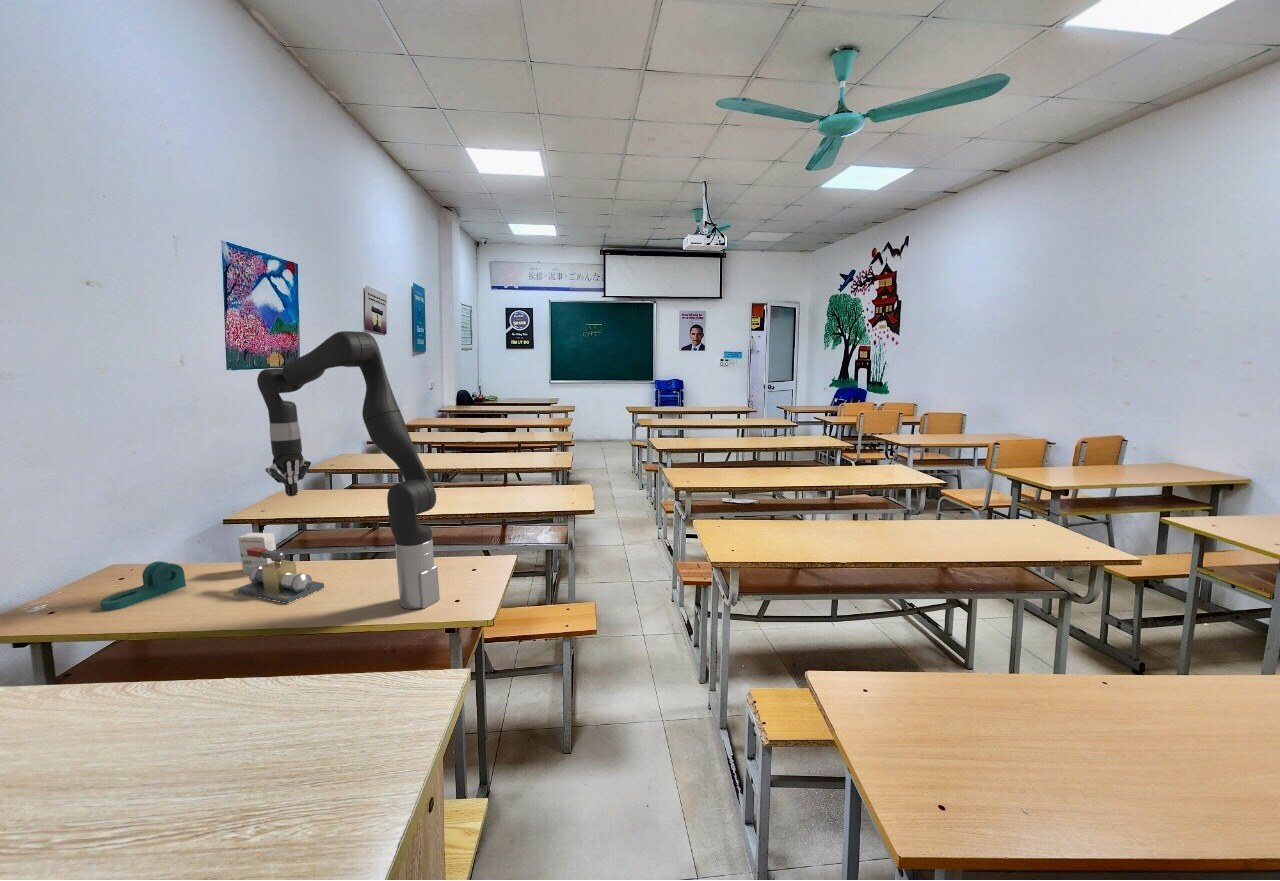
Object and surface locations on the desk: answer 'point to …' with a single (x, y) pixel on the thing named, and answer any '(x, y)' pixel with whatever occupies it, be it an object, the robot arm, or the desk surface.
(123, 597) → the bracket
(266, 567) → the valve pipe
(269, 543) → the ink box
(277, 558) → the valve lever
